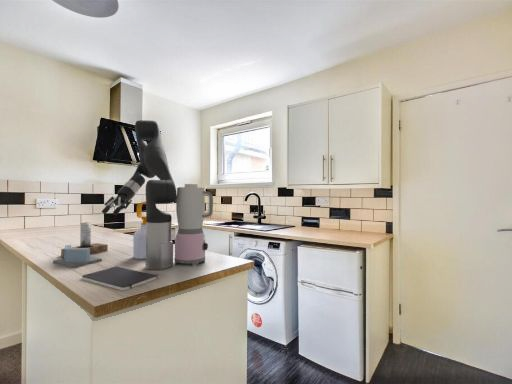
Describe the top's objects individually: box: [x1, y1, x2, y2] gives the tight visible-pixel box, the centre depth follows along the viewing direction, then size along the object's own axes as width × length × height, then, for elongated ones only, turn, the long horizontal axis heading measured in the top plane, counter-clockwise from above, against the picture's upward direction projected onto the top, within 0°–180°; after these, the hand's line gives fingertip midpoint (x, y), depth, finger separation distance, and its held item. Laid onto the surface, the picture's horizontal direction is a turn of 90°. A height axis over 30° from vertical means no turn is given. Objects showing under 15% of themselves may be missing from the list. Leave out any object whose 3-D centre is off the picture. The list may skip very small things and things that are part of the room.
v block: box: [52, 244, 103, 268], centre depth 108 cm, size 15×11×6 cm
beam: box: [60, 242, 109, 257], centre depth 122 cm, size 16×8×3 cm, turn 153°
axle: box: [79, 221, 92, 248], centre depth 122 cm, size 4×4×14 cm
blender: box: [173, 183, 214, 267], centre depth 109 cm, size 16×12×32 cm
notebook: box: [81, 265, 159, 291], centre depth 88 cm, size 13×2×21 cm
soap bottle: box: [132, 201, 146, 260], centre depth 117 cm, size 9×9×25 cm
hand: (108, 213), depth 132 cm, fingers open, 8 cm apart
